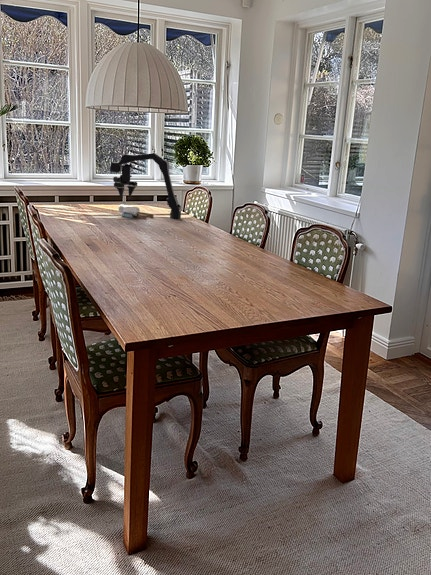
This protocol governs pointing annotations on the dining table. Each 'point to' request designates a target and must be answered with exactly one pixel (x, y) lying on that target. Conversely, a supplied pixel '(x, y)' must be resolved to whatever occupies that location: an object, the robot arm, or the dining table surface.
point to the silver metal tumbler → (129, 210)
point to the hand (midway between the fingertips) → (125, 197)
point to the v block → (128, 215)
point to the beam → (144, 215)
